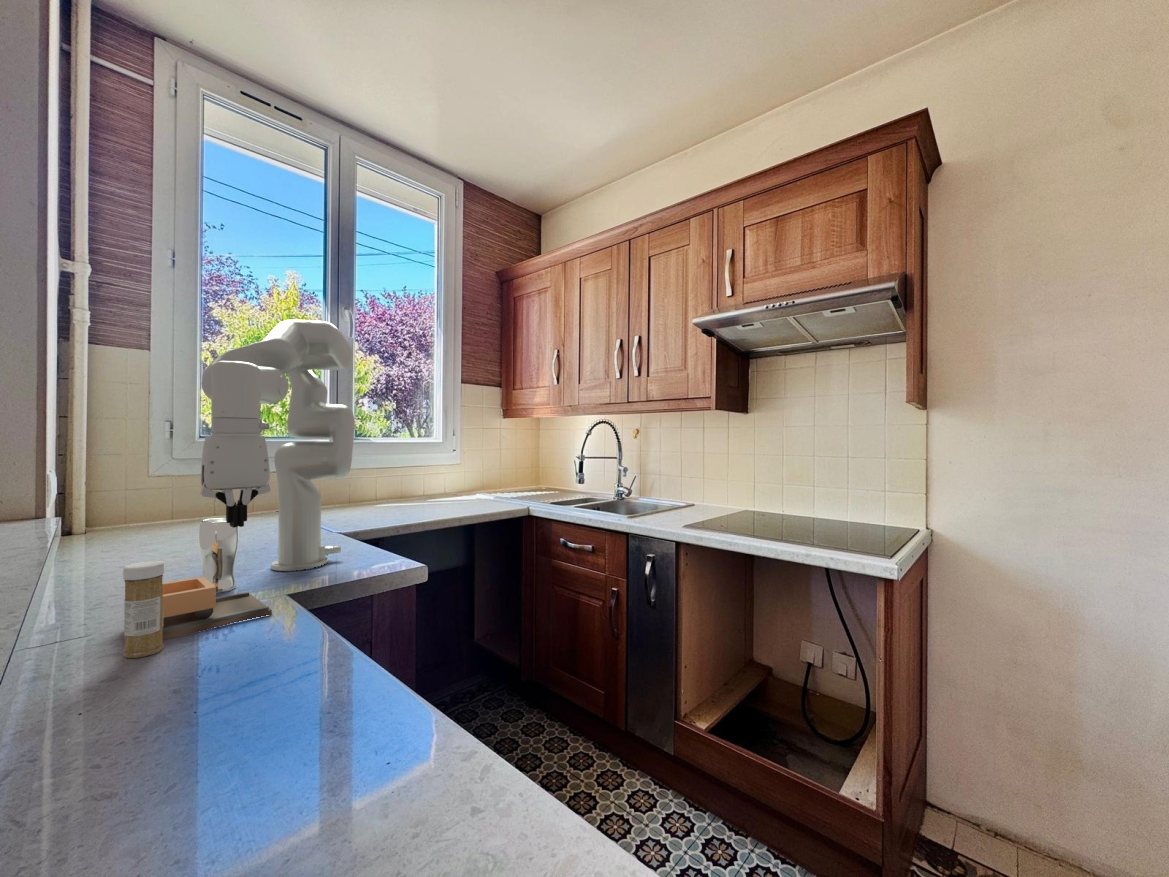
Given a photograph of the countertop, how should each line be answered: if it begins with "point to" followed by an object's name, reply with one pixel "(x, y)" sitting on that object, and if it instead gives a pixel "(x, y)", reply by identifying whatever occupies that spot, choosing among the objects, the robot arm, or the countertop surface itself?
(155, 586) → the sprinkles bottle
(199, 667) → the countertop surface
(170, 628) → the track board
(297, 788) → the countertop surface
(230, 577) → the beer glass
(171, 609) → the cart
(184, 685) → the countertop surface
